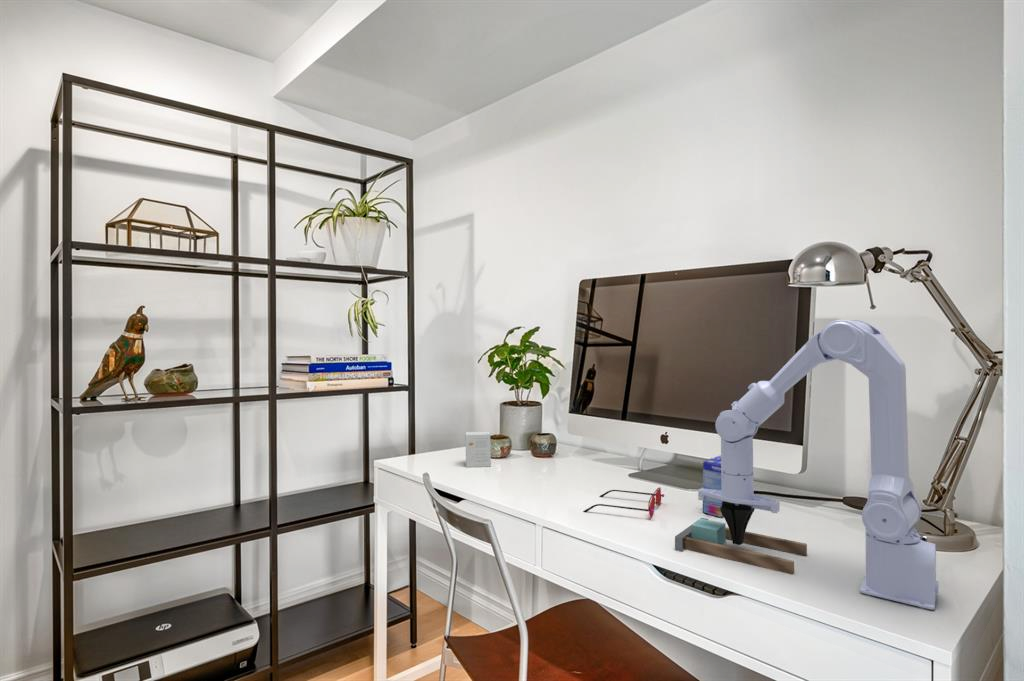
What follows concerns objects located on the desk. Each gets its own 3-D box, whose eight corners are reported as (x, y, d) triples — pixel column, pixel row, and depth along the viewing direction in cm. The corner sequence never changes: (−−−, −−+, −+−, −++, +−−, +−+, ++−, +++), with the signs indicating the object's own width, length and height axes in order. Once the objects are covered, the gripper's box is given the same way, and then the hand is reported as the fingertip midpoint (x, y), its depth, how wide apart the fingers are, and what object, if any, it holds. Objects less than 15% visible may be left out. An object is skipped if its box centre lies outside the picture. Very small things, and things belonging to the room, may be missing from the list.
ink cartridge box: (724, 519, 126) (724, 454, 126) (701, 513, 130) (700, 451, 129) (743, 509, 133) (743, 447, 132) (720, 504, 137) (720, 444, 136)
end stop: (708, 530, 118) (708, 519, 118) (682, 551, 107) (682, 538, 107) (701, 529, 119) (701, 517, 119) (674, 549, 108) (674, 536, 108)
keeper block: (725, 543, 112) (725, 523, 112) (717, 551, 108) (716, 530, 108) (700, 538, 115) (700, 518, 115) (691, 545, 111) (691, 525, 111)
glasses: (653, 523, 125) (653, 500, 125) (582, 513, 132) (582, 492, 132) (664, 505, 138) (664, 485, 138) (599, 497, 145) (599, 478, 145)
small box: (490, 463, 184) (490, 430, 184) (491, 467, 178) (490, 433, 178) (466, 463, 183) (465, 431, 183) (465, 467, 178) (465, 434, 178)
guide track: (806, 554, 105) (806, 543, 105) (792, 574, 97) (792, 562, 97) (705, 532, 117) (705, 523, 117) (685, 549, 108) (685, 538, 108)
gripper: (783, 473, 106) (784, 545, 106) (706, 463, 115) (707, 529, 115) (773, 481, 101) (774, 556, 101) (693, 470, 110) (694, 539, 110)
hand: (737, 543), depth 108 cm, fingers closed
